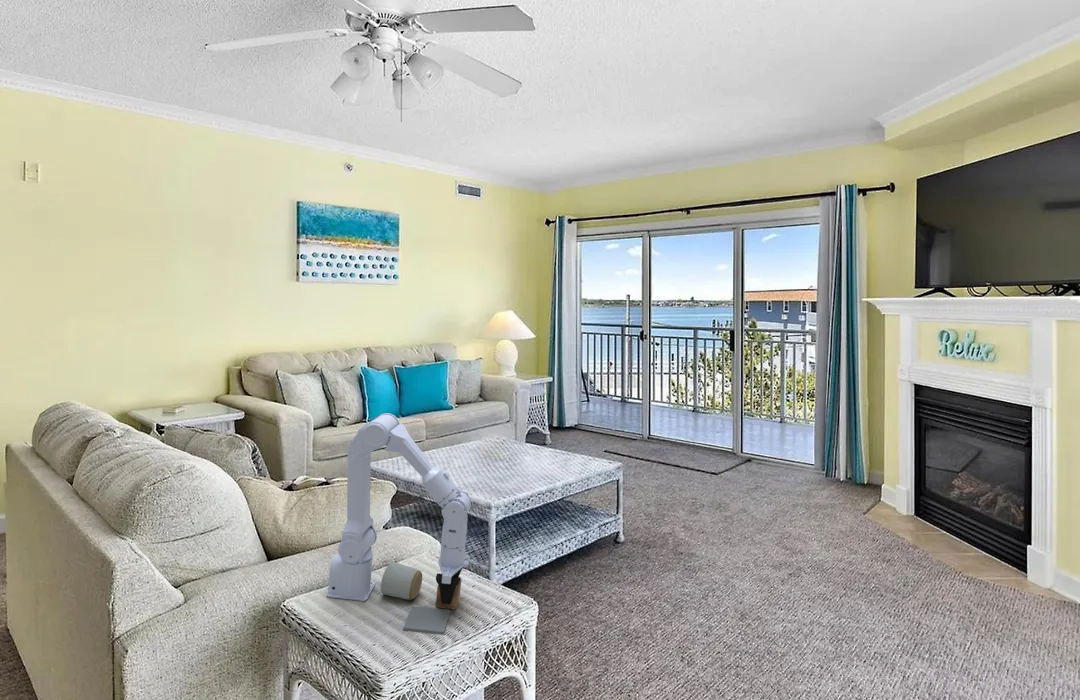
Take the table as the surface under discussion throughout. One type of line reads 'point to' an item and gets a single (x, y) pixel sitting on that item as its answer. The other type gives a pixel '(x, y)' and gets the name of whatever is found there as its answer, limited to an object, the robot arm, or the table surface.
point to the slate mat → (427, 620)
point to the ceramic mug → (401, 581)
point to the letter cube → (454, 600)
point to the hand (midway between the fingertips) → (448, 596)
